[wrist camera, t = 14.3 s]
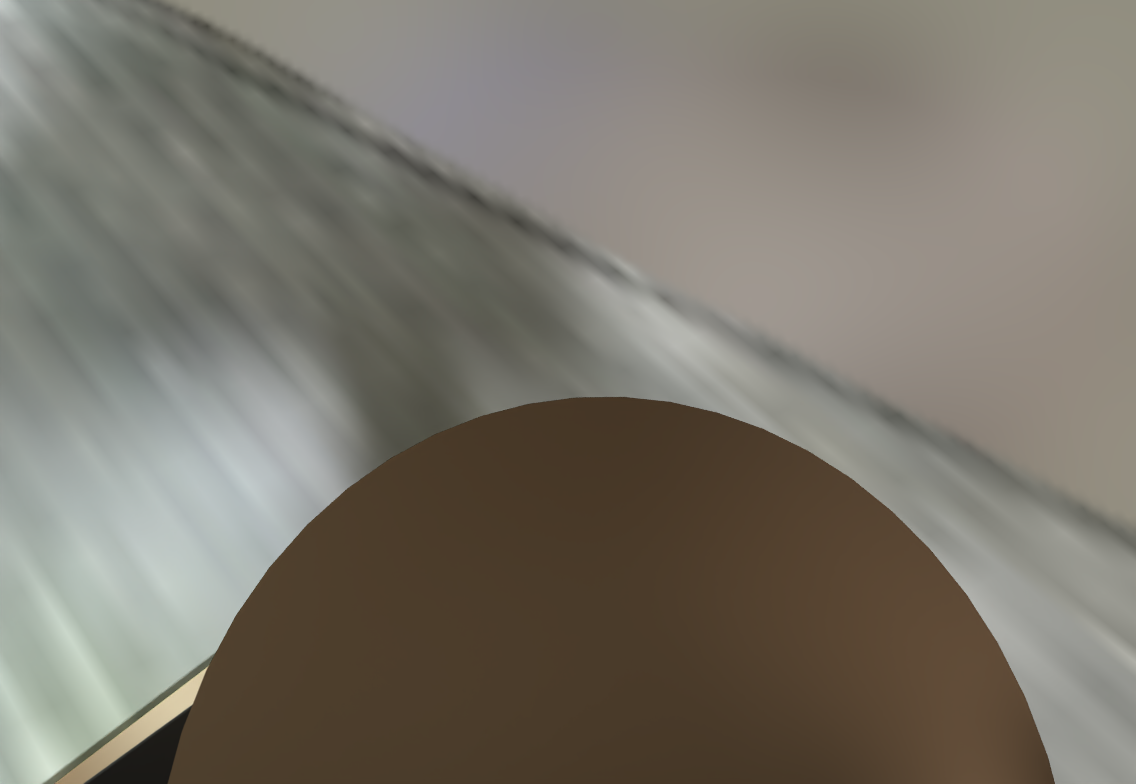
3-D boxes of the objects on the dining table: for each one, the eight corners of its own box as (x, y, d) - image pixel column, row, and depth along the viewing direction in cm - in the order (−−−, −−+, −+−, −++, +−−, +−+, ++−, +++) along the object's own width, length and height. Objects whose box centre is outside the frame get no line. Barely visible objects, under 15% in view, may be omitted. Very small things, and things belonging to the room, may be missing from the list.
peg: (532, 934, 13) (632, 1901, 2) (399, 766, 14) (-34, 792, 3) (675, 773, 14) (1237, 822, 3) (543, 627, 15) (623, 270, 4)
